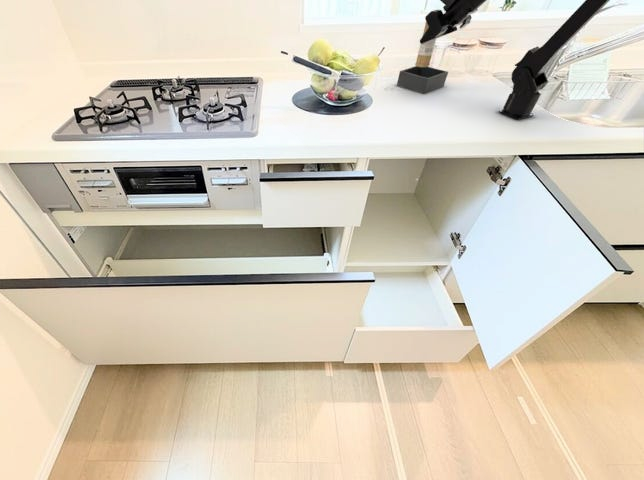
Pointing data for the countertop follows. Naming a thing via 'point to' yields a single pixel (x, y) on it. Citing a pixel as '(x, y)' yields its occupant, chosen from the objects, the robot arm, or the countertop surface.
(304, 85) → the countertop surface
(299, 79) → the countertop surface
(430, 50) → the sprinkles bottle
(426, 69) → the dark grey square tray
